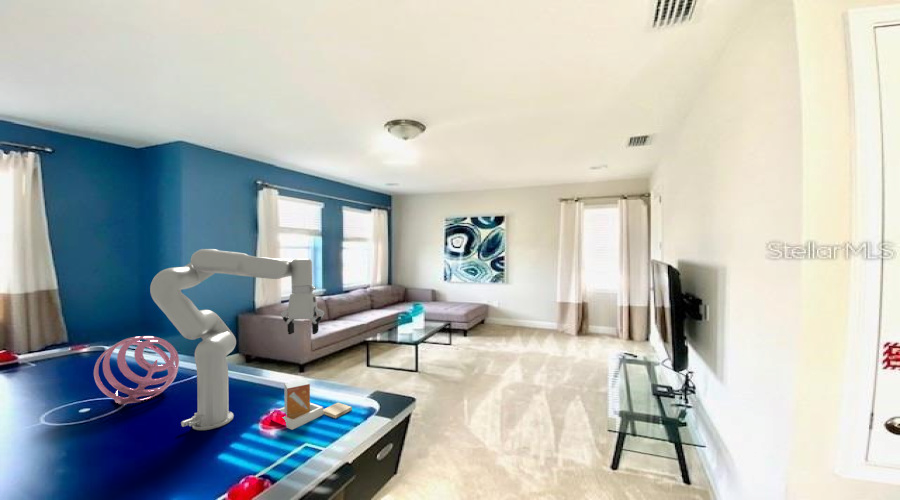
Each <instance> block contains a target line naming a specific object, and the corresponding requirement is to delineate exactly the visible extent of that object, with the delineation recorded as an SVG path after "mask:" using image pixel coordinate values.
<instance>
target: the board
mask: <svg viewBox="0 0 900 500" xmlns="http://www.w3.org/2000/svg"><path fill="white" fill-rule="evenodd" d="M352 409H353V407H352V406H349V405H347V404H344V403H341V402H336V403H333V404H332V405H329V406H328V407H326V408H323V415H325V416H328V417H331V418H333V419H337V418H339V417H341V416H343V415H345V414H347V413H349V412H350V411H352Z"/></svg>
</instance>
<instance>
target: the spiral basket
mask: <svg viewBox="0 0 900 500" xmlns="http://www.w3.org/2000/svg"><path fill="white" fill-rule="evenodd" d="M140 340H141V341H140ZM142 340H145V341H142ZM155 344H158V345H160V346H162V347H164V348H165V349H166V350H167V351H168V352H169V354H170V357H169V356H168V354H166V352H165V351H164V350H162V349H161V348H160V347H158V346H157V345H155ZM130 346H136V348H135V350H134V359H135V362H136V363H137V364H138V366H139V367H141V368H142V369H144V370H145V371H147V374H146V376H140V375H138V374H136V373H135V372H133V371H132V370H131V368H130V367H129V366H128V363H127V361H126V360H127V359H126V353H127V351H128V349H129V348H130ZM119 347H120V348H119ZM116 348H119V350H118V353H117V358H116V363H117V367H118V369H119V372H120V373H122V375H123V376H124V377H126V379H128V380H130V381H131V382H133V383H136V384H138V386H137V387H136V388H131V387H128V386H126V385H124V384H122V383H121V382H119V381H118V380H117V379H116V377H115V376H114V374H113V373H112V370H111V365H110V361H111V360H110V359H111V357H112V354H113V352H114V351H115V349H116ZM145 348H147V349H150V350H153V352H155V353H157V354H158V355H159V356H160V357H161V358H162V360H163V361H164V364H161V365H158V359H157V358H156V359H155V361H154V363H152V364H151V363H150V362H148V361H147V360H146V359H145V357H144V350H145ZM178 353H179V352H178V351H177V350H176V348H175V347H174V346H173V345H172V344H171V343H170V342H168V340H166V339H164V338H162V337H161V338H160V337H157V336H153V335H142V336H133V337H128V338H125V339H122V340H121V341H119V342H116V343H115V344H114V345H112V346H110V347H108V348H107V349H106V350H104V352H103V353H101V355H100V356H99V357H98V358H97V359H96V362H95V365H94V369H93V377H94V381H95V384H96V386H97V387H98V389H99V390H100V391H101V392H102V393H103V394H104V395H106V397H108V398H111V399H113V400H114V402H115V403H116V404H117V403H118V405H127V404H133V403H134V404H135V403H142V402H141V401H143V402H145V401H144V400H146V401H149V400H152V399H154V398H155V396H156V397H157V396H159V395H160V394H162V393H163V392H164V391H165V390H166V389H168V387H169V386H170V385H172V383H173V382H174V380H175V379H176V377H177V376H178V375H177V374H178V371H179V365H180V358H179V354H178ZM102 359H103V361H102ZM101 362H102V372H103V375H104V377H105V379H106V381H107V382H108V383H109V384H110V385H111V386H112V387H113V388H114V389H116V390H115V393H113V392H112V391H110V390H109V389H108V388H107V387H106V386H105V385H104V384H103V382H102V381H101V378H100V375H99V367H100V363H101ZM166 370H167V375H165V376H162V377H159V378H152V376H153V375H154V374H155V373H159V372H163V371H166ZM163 383H164V384H163ZM160 384H163V385H162V386H160V387H156V388H150V389H145V388H146V387H148V386H155V385H160ZM118 391H119V392H121V393H124V394H126V395H128V397H123V396H119V393H118ZM146 396H148V397H146ZM139 397H144V398H139ZM153 397H154V398H153ZM138 398H139V399H138ZM151 398H152V399H151ZM148 399H149V400H148Z"/></svg>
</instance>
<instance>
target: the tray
mask: <svg viewBox="0 0 900 500" xmlns="http://www.w3.org/2000/svg"><path fill="white" fill-rule="evenodd" d="M323 409H324V406H322V405H319V404H317V403H316V404H315V403H313V402H310V412H308V413H306V414H304V415H302V416H299V417H297V418H295V419H291V418H288V417H286V416H284V417H282V418H283V419H284V420H285V422H286V426H287V427H286V428H287V429H289V430H294V429H297V428H299V427H301V426H303V425H305V424H307V423H309V422H311V421H314V420H315V419H317V418H320V417H321V416H323V415H324V414H323ZM277 410H280V411H283V412H285V406H283V407H280V408H277ZM272 412H273V411H271V412H270V414H271V413H272Z"/></svg>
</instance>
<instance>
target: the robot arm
mask: <svg viewBox="0 0 900 500" xmlns="http://www.w3.org/2000/svg"><path fill="white" fill-rule="evenodd" d="M190 257H191V258H190V262H189V263H188V264H185V265H184V266H174V267H168V268H165V269H163V270H160V271H159V272H158V273H157V274H156V275H155V276H154V277H153V279H152V281H151V283H150V287H149V289H150V291H149V292H150V296H151V298H152V300H153V302H154V303H155V304H156V305H157V306H158V308H159V309H160V310H161V311H162V312H163V313H164V315H166V317H167V319H168V320H169V321H170V322H171V323H172V325H173V326H174V327H175V328H176V330H177V331H178V332H179V334H181V336H182V337H183V338H185V339H187V340H196V339H200V338H201V339H202V340H201V341H200V342H199V343H198V344H197V345H196V348H195V350H194V356H193V357H194V363H195V367H196V384H197V385H196V387H197V390H196V391H197V393H196V394H197V400H196V402H197V412H194V415H193V416H192V417H191V418H188V419H184V420H182V421H181V422H180V424H181V425H180V426H181V427H183V428H184V427H186V426H187V427H188V426H189V427H192V429H193V430H195V431H208V430H213V429H216V428H220V427H223V426H225V425H227V424H229V423H230V422H232V420H233V419H234V413H233V412H232V411H230V410H229V407H230V406H229V405H230V404H229V402H230V401H229V367H228V362H227V356H228V355H229V354H230V353H232V352H233V351H234V349H235V348H236V345H237V339H236V336H235V335H234V333H233V332H232V330H230V328H229V327H228V325H226V323H225V322H224V321H223V320H222V318H221V317H220V316H219V315H218V314H217V313H216V312H215V311H213V310H210V309H201V310H200V309H198V307H197V306H196V305H195V303H194V302H193V301H192V300H191V299H190V298H189V297H188V296H187V295H185V294H184V293H183V292H182V290H187V289H191V288H194V287H196V286H198V285H199V284H201V283H202V282H204V281H206V280H207V279H208V278H210V277H212V276H214V274H225V275H230V276H231V275H232V276H241V277H248V278H249V277H251V278H259V279H267V280H268V279H270V280H280V279H284V278H286V277H291V293H290V295H289V298H288V307H287V309H284V310H283V311H282V312H280V315H281V317H282V320H283V321H284V322H285V324H286V325H287V334H288V335H292V334H295V323H294V321H295V320H310V321H311V322H312V326H311V328H312V329H311V331H312V335H316V334H317V333H319V323H320V322H321V320H322V319H323V317H324V315H325V311H324V310H322V309H320V308H319V307H318V302H317V296H316V293H315V292H314V291H316V289H317V288H316V286H314V285H313V262H312V260H311V258H294V259H292V258H271V257H262V256H254V255H249V254H247V253H243V252H237V251H228V250H227V251H226V250H219V249H215V248H201V249H198V250H197V251H195V252H193V254H192V255H191V256H190ZM287 314H288V315H287Z"/></svg>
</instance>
